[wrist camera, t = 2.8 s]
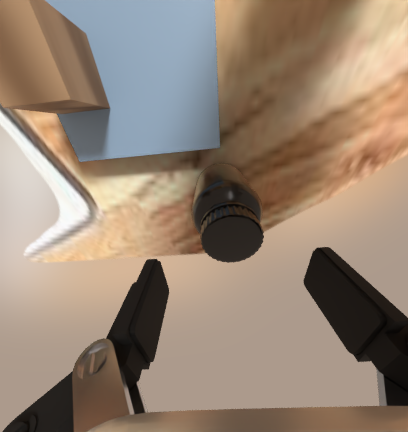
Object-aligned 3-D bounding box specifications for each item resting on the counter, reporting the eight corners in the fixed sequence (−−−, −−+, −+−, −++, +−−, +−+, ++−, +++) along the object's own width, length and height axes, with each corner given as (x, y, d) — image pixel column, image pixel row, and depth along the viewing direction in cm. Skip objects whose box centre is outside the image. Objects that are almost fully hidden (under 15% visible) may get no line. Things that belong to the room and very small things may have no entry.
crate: (86, 33, 12) (20, -20, 8) (110, 108, 15) (70, 99, 10) (28, 41, 13) (-65, -5, 8) (61, 114, 15) (3, 107, 11)
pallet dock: (211, -7, 13) (213, -40, 11) (218, 145, 19) (220, 147, 16) (38, 20, 14) (0, -5, 11) (96, 157, 20) (79, 161, 17)
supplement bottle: (192, 165, 20) (179, 202, 10) (244, 159, 20) (287, 192, 9) (199, 210, 24) (193, 274, 13) (243, 206, 23) (274, 269, 13)
